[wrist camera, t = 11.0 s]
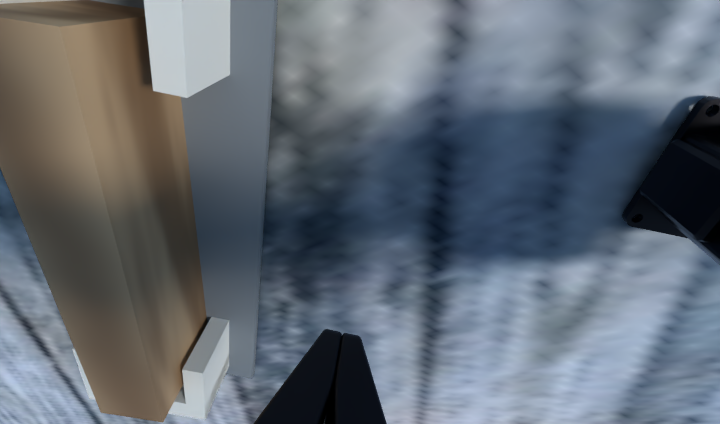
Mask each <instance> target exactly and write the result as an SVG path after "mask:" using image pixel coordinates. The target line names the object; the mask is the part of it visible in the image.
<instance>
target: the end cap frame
mask: <svg viewBox="0 0 720 424" xmlns="http://www.w3.org/2000/svg"><path fill="white" fill-rule="evenodd" d="M49 1H71V0H0V4H7V3H28V2H49ZM92 1H98V2H105V3H111V4H117V5H123V6H130V7H136V8H142V9H145V18H146V27H147V37H148V46H149V56H150V66H151V75H152V85H153V91H156V92H161V93H166V94H171V95H175V96H180V97H181V103H182V112H183V120H184V129H185V137H186V146H187V154H188V163H189V171H190V180H191V188H192V197H193V205H194V214H195V222H196V231H197V239H198V248H199V256H200V265H201V273H202V282H203V290H204V299H205V307H206V316H207V326H206V327H205V329H204V331H203V333H202V335H201V336H200V338H199V340H198V342H197V344H196V345H195V347H194V349H193V351H192V353H191V354H190V356H189V358H188V360H187V362H186V364H185V365H184V367H183V369H182V373H183V383H184V384H183V386H182V388H181V389H180V391H179V393H178V395H177V397H176V399H175V401H174V403H173V405H172V406H171V408H170V410H169V412H168V413H169V414H174V415H180V416H185V417H190V418H196V419H201V420H206V418H207V416H208V413H209V411H210V409H211V407H212V404H213V402H214V400H215V397H216V395H217V393H218V390H219V388H220V386H221V384H222V381H223V379H224V377H225V374H229V375H234V376H239V377H244V378H250V379H252V377H253V375H254V372H255V356H256V340H257V324H258V308H259V292H260V276H261V260H262V245H263V229H264V213H265V197H266V181H267V165H268V149H269V133H270V117H271V101H272V85H273V69H274V53H275V37H276V21H277V5H278V0H92ZM73 352H74V355H75V358H76V361H77V364H78V367H79V370H80V373H81V376H82V379H83V382H84V385H85V388H86V391H87V394H88V396H89V399H93V400H96V399H95V397H94V394H93V392H92V390H91V387H90V385H89V382H88V380H87V377H86V375H85V373H84V370H83V368H82V365H81V363H80V360H79V358H78V356H77V353H76V351H75V348H73Z"/></svg>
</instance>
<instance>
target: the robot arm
mask: <svg viewBox="0 0 720 424" xmlns="http://www.w3.org/2000/svg"><path fill="white" fill-rule="evenodd" d="M712 105H713V107H712V109H711V110H710V111H709V112H708V113H705V112H706V110H707V109H708V108H709V107H710V106H712ZM636 214H638V216H636V217H635V218H632V217H633V216H634V215H636ZM622 218H623V220H624V221H625V222H626V223H627V224H628V225H629V226H632V227H637V228H642V229H646V230H651V231H656V232H661V233H666V234H670V235H675V236H680V237H685V238H689V239H690V240H691V241H692V242H693V243H695V244H696V245H697V246H698V247H699V248H700V249H702V250H703V251H704V252H705V253H706V254H707V255H709V256H710V257H711V258H712V259H713V260H714V261H716V262H717V263H718V264H719V265H720V98H718V97H713V96H709V97H706V98H703V99H702V100H700V101H699V102H698V103H697V104H696V105H695V106H694V108H693V109H692V111H691V112H690V114H689V115H688V117H687V118H686V120H685V121H684V123H683V124H682V125H681V127H680V128H679V130H678V131H677V133H676V134H675V136H674V137H673V139H672V140H671V142H670V143H669V145H668V146H667V148H666V149H665V151H664V152H663V154H662V155H661V157H660V158H659V160H658V161H657V163H656V164H655V166H654V167H653V169H652V170H651V172H650V173H649V175H648V176H647V178H646V179H645V181H644V182H643V184H642V185H641V187H640V188H639V190H638V191H637V193H636V194H635V196H634V197H633V199H632V200H631V202H630V203H629V205H628V206H627V208H626V209H625V211H624V212H623V215H622ZM324 421H325V422H324ZM254 424H387V423H386V420H385V417H384V413H383V410H382V407H381V403H380V400H379V397H378V393H377V390H376V387H375V383H374V380H373V377H372V373H371V370H370V366H369V363H368V360H367V356H366V353H365V350H364V346H363V343H362V340H361V338H360V337H359V336H358V335H353V334H348V333H344V334H343V335H342V334H341V333H340V332H338V331H333V330H329V329H326V330H324V331H323V332H322V333H321V335H320V336H319V337H318V339H317V340H316V341H315V343H314V344H313V345H312V347H311V348H310V349H309V351H308V352H307V353H306V354H305V356H304V357H303V358H302V360H301V361H300V362H299V364H298V365H297V366H296V368H295V369H294V370H293V372H292V373H291V374H290V376H289V377H288V378H287V380H286V381H285V382H284V384H283V385H282V386H281V388H280V389H279V390H278V392H277V393H276V394H275V396H274V397H273V398H272V400H271V401H270V402H269V404H268V405H267V406H266V408H265V409H264V410H263V412H262V413H261V414H260V416H259V417H258V418H257V420H256V421H255V422H254Z"/></svg>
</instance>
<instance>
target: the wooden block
mask: <svg viewBox="0 0 720 424" xmlns="http://www.w3.org/2000/svg"><path fill="white" fill-rule="evenodd" d="M0 168H1V171H2V173H3V176H4V178H5V181H6V183H7V185H8V188H9V190H10V193H11V195H12V198H13V200H14V202H15V205H16V207H17V210H18V212H19V215H20V217H21V219H22V222H23V224H24V227H25V229H26V232H27V234H28V236H29V239H30V241H31V244H32V246H33V249H34V251H35V254H36V256H37V258H38V261H39V263H40V266H41V268H42V271H43V273H44V275H45V278H46V280H47V283H48V285H49V288H50V290H51V292H52V295H53V297H54V300H55V302H56V305H57V307H58V309H59V312H60V314H61V317H62V319H63V322H64V324H65V326H66V329H67V331H68V334H69V336H70V339H71V341H72V343H73V346H74V348H75V351H76V353H77V356H78V358H79V360H80V363H81V365H82V368H83V370H84V373H85V375H86V377H87V380H88V382H89V385H90V387H91V390H92V392H93V394H94V397H95V399H96V402H97V404H98V407H99V409H100V411H101V413H107V414H114V415H120V416H126V417H133V418H139V419H146V420H152V421H158V422H163V421H164V420H165V418H166V416H167V414H168V412H169V410H170V408H171V406H172V405H173V403H174V401H175V399H176V397H177V395H178V393H179V391H180V389H181V388H182V386H183V384H184V383H183V373H182V369H183V367H184V365H185V364H186V362H187V360H188V358H189V356H190V354H191V353H192V351H193V349H194V347H195V345H196V344H197V342H198V340H199V338H200V336H201V335H202V333H203V331H204V329H205V327H206V326H207V316H206V307H205V299H204V290H203V282H202V273H201V265H200V256H199V248H198V239H197V231H196V222H195V214H194V205H193V197H192V188H191V180H190V171H189V163H188V154H187V146H186V137H185V129H184V120H183V112H182V103H181V97H180V96H175V95H171V94H166V93H161V92H156V91H153V85H152V75H151V66H150V56H149V46H148V37H147V27H146V18H145V9H142V8H136V7H130V6H123V5H117V4H111V3H105V2H98V1H92V0H71V1H49V2H28V3H7V4H0Z"/></svg>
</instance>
